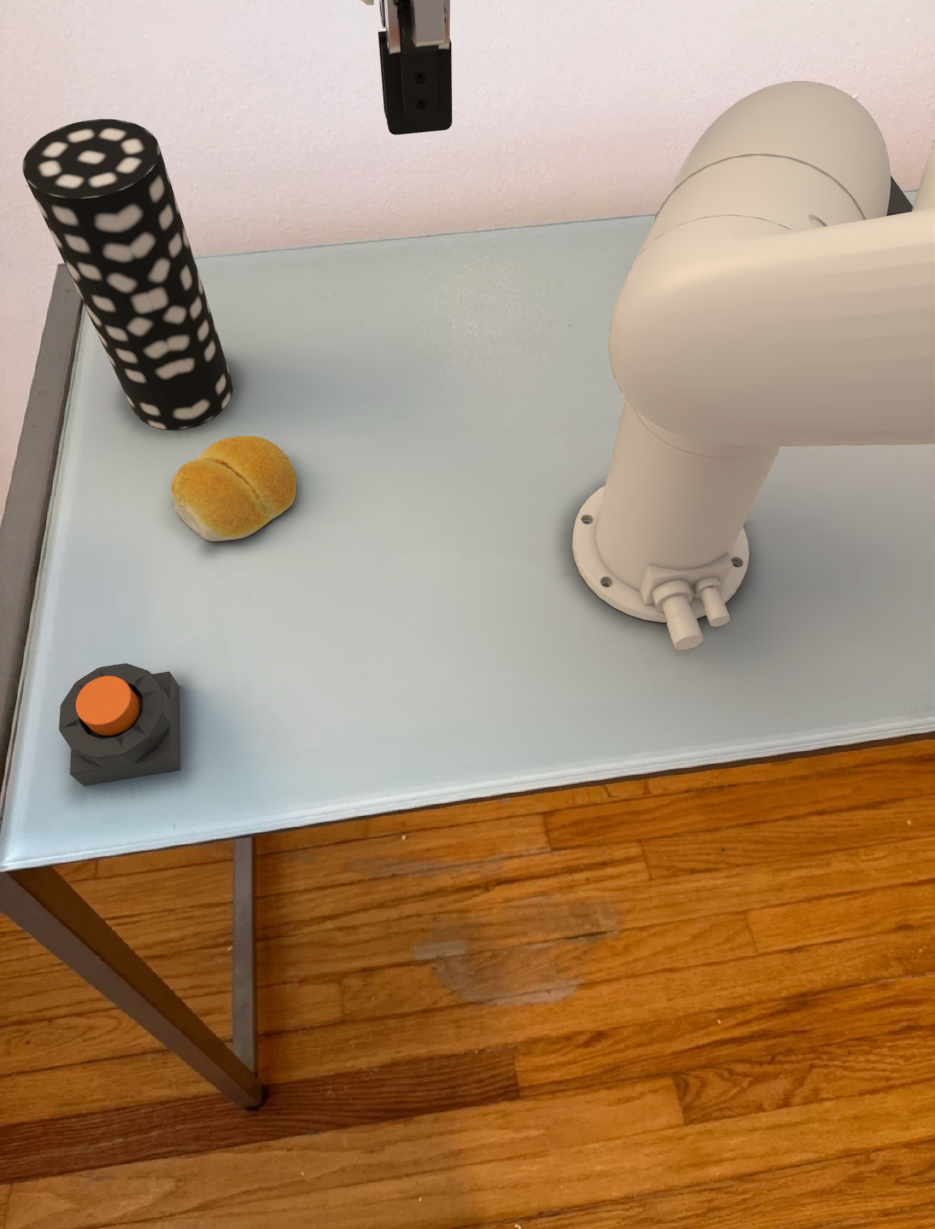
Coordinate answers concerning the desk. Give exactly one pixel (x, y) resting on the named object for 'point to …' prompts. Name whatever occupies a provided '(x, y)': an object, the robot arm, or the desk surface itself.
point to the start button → (107, 705)
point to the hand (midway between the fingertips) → (418, 122)
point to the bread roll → (234, 488)
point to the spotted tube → (132, 266)
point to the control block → (135, 749)
